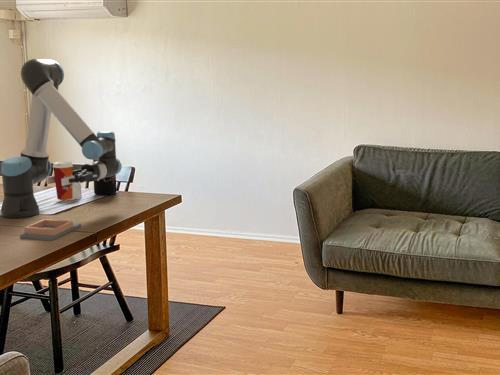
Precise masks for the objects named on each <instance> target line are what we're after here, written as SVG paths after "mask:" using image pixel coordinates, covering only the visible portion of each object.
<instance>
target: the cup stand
mask: <svg viewBox="0 0 500 375" xmlns="http://www.w3.org/2000/svg"><path fill="white" fill-rule="evenodd" d="M81 227H82V223H81V222H74V221H73V220H64V219H63V220H60V219H50V218H49V219H48V218H47V219H46V218H44V219H41V220H38V221H36V222H34V223H31V224H29V225H26V226H24V227H23V233H21V234H20V235H19V238H20V239H27V240H28V239H29V240H38V239H39V240H40V241H41V240H42V241H51V242H52V241H54V240H57V239H58V238H60V237H62V236H64V235H66V234H69V233H70V232H72V231H75V230H77V229H79V228H81Z"/></svg>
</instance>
